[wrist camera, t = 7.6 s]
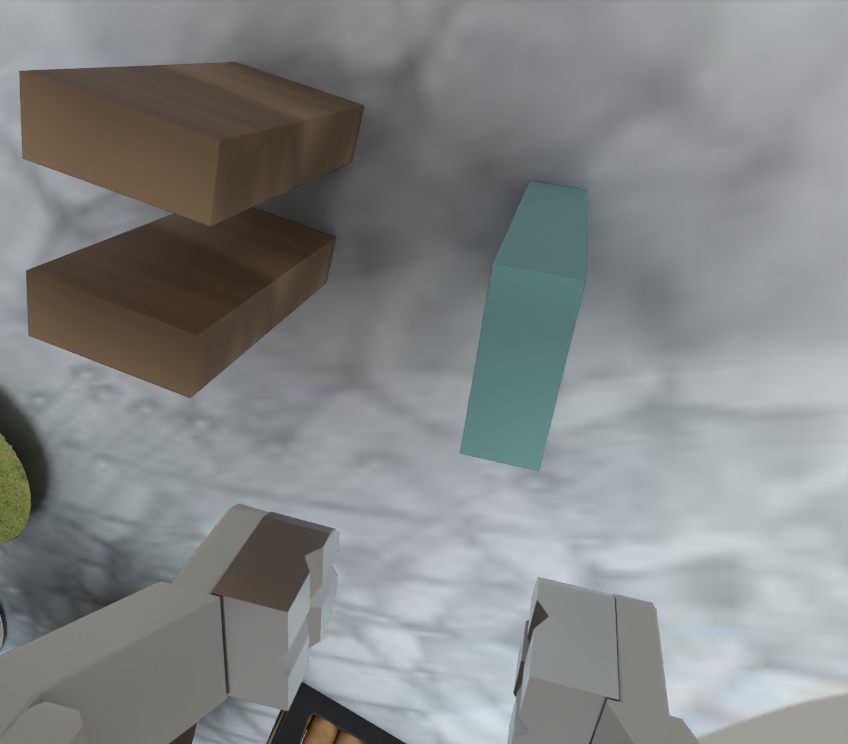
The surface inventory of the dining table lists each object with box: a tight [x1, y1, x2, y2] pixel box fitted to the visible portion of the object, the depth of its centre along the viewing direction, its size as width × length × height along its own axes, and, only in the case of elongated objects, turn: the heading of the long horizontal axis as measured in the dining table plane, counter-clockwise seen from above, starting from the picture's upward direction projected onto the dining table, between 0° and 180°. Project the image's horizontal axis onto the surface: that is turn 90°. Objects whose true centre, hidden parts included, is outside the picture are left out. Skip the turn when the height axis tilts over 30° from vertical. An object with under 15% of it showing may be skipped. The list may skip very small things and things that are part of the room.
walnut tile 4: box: [19, 62, 364, 226], centre depth 19 cm, size 2×5×10 cm, turn 74°
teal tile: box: [460, 181, 587, 471], centre depth 19 cm, size 2×5×10 cm, turn 173°
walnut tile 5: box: [26, 207, 336, 398], centre depth 22 cm, size 2×5×10 cm, turn 74°
